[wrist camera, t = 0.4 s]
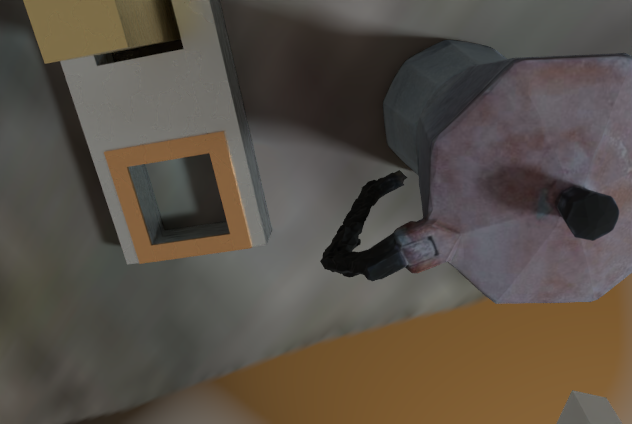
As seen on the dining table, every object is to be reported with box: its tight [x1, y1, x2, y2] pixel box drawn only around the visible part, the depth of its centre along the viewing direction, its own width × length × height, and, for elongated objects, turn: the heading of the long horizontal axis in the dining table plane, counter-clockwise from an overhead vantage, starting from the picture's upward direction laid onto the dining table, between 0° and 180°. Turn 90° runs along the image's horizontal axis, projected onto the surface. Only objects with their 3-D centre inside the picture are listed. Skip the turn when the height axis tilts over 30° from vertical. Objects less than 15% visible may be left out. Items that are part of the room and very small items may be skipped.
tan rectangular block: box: [23, 0, 181, 64], centre depth 30 cm, size 4×4×9 cm
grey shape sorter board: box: [60, 0, 272, 264], centre depth 35 cm, size 20×10×3 cm, turn 10°
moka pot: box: [321, 40, 632, 303], centre depth 26 cm, size 10×15×20 cm, turn 119°
